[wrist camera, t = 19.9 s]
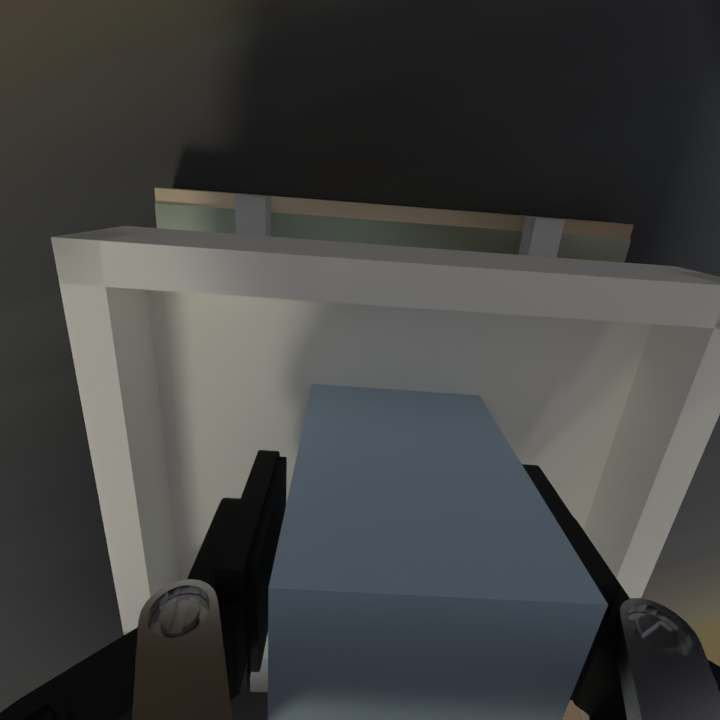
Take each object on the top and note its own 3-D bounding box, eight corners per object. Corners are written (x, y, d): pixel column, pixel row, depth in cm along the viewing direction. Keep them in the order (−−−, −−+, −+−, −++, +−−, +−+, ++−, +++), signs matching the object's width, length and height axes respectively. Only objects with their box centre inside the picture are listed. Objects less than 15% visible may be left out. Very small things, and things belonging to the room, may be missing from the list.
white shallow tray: (546, 550, 19) (610, 670, 14) (185, 533, 19) (127, 652, 14) (633, 256, 15) (772, 289, 10) (156, 221, 14) (50, 236, 9)
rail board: (492, 654, 26) (506, 700, 24) (208, 644, 25) (193, 689, 23) (610, 222, 17) (651, 227, 15) (171, 188, 16) (140, 187, 14)
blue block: (452, 526, 15) (531, 793, 8) (306, 518, 14) (267, 786, 8) (479, 395, 13) (608, 604, 6) (312, 383, 13) (268, 587, 6)
